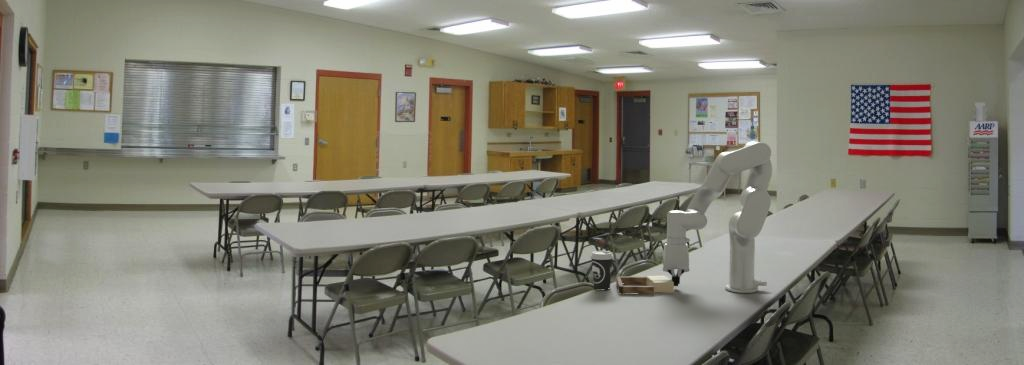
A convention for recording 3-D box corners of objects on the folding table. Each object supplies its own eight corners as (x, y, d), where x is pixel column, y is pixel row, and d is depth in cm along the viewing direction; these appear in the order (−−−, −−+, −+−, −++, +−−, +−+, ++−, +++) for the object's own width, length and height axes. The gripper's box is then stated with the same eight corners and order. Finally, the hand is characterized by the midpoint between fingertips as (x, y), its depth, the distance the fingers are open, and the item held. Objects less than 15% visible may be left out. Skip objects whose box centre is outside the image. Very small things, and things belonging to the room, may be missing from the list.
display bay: (648, 283, 278) (648, 276, 278) (653, 294, 260) (653, 286, 260) (616, 283, 279) (616, 276, 279) (619, 294, 261) (619, 286, 261)
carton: (665, 286, 275) (665, 275, 275) (673, 293, 263) (673, 281, 263) (646, 286, 275) (646, 275, 274) (653, 293, 263) (653, 282, 262)
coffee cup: (613, 291, 265) (613, 255, 264) (589, 290, 267) (589, 254, 266) (614, 286, 274) (614, 250, 273) (591, 285, 276) (591, 250, 275)
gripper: (693, 239, 269) (692, 283, 271) (656, 239, 271) (655, 283, 272) (696, 242, 262) (696, 288, 263) (658, 242, 263) (658, 287, 265)
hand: (675, 285), depth 268 cm, fingers closed
